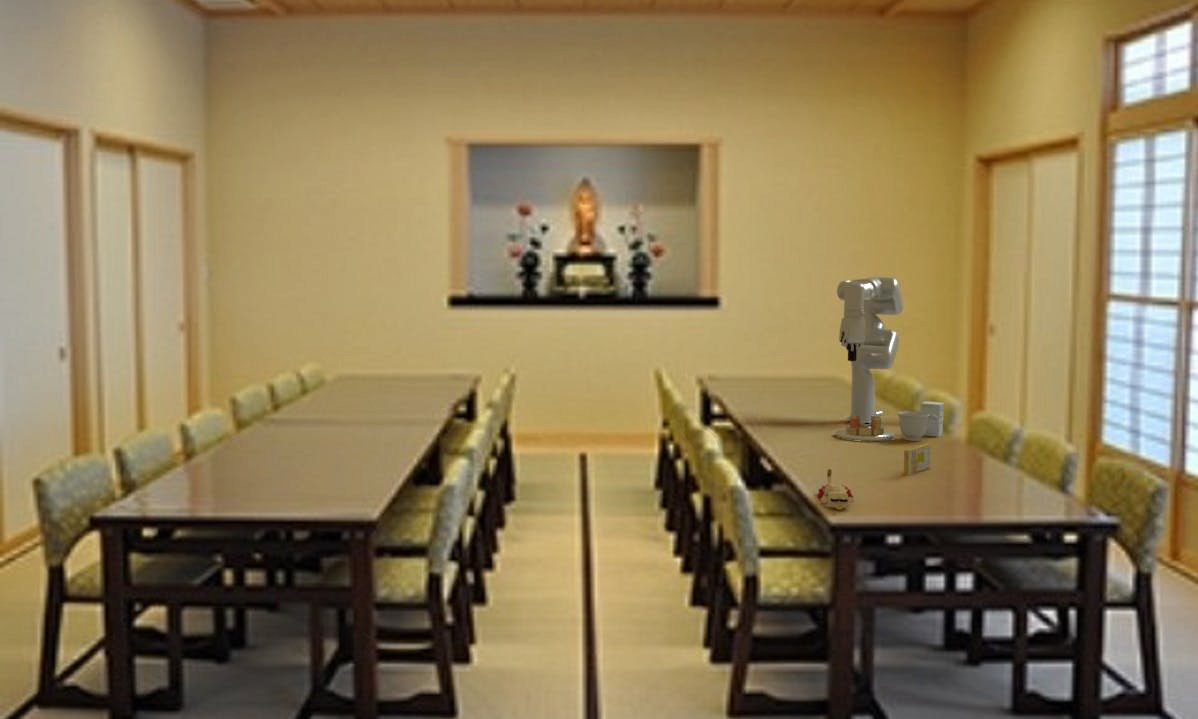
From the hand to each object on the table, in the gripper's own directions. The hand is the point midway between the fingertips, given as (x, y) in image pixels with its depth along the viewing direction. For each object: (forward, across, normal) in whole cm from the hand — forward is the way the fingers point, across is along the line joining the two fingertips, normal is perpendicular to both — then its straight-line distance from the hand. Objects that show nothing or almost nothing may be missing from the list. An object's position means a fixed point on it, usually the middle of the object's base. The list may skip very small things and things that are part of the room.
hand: (852, 360), depth 492 cm
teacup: (+27, -4, +32) cm, 42 cm away
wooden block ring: (+25, +9, +18) cm, 32 cm away
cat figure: (+28, +100, +101) cm, 144 cm away
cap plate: (+27, +9, +18) cm, 34 cm away
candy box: (+28, +43, +78) cm, 93 cm away
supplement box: (+27, -18, +26) cm, 42 cm away
